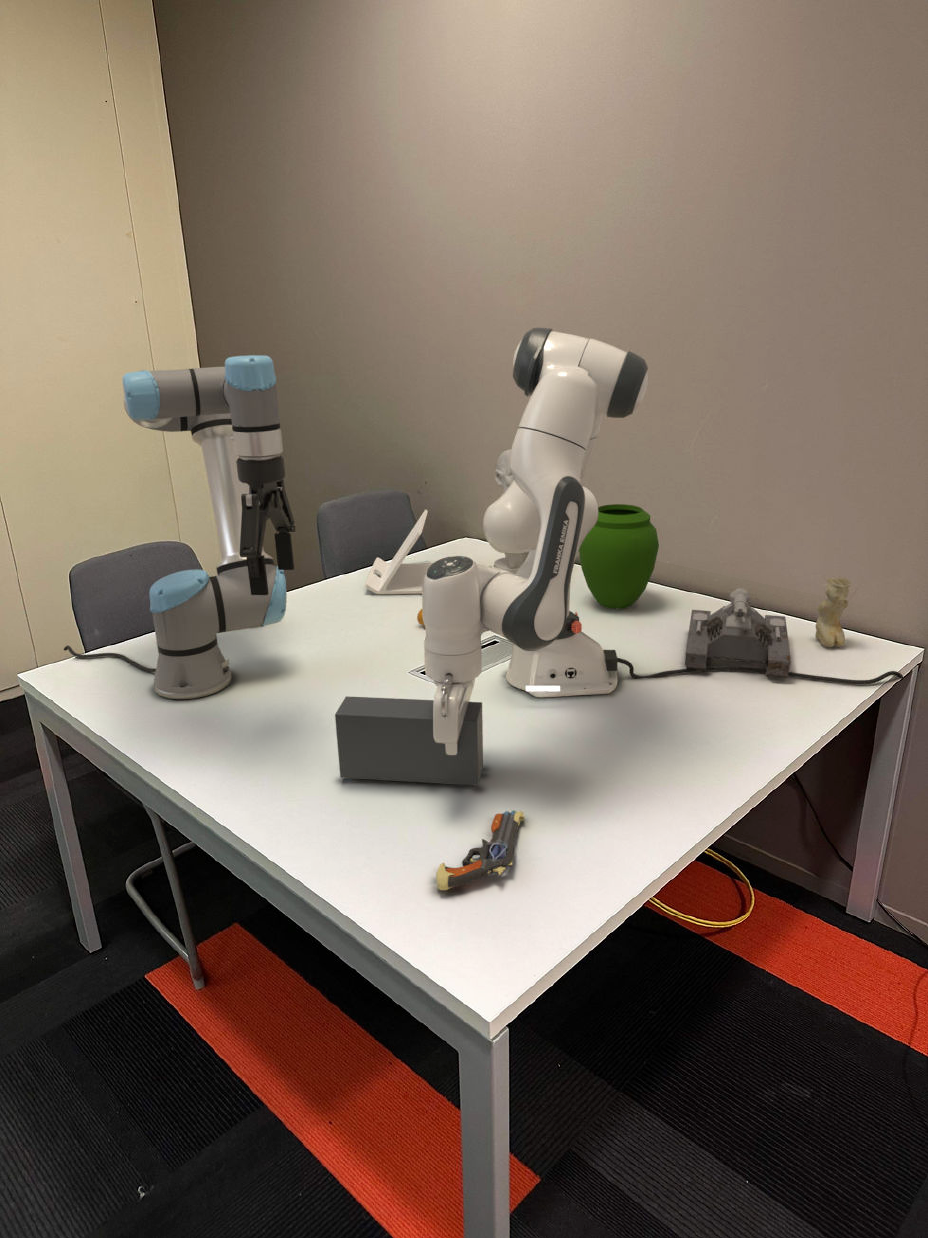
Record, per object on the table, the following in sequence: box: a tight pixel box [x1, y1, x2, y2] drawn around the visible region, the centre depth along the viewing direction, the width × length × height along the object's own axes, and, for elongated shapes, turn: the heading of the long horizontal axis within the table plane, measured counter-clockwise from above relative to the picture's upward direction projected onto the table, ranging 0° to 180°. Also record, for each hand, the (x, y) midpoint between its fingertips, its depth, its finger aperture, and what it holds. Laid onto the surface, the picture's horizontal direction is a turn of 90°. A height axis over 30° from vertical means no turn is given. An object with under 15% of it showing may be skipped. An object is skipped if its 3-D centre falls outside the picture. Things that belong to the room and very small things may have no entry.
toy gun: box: [435, 810, 525, 891], centre depth 120 cm, size 3×19×10 cm
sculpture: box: [814, 576, 852, 648], centre depth 185 cm, size 6×7×15 cm
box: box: [334, 695, 484, 786], centre depth 138 cm, size 23×6×12 cm, turn 82°
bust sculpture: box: [493, 449, 530, 574], centre depth 231 cm, size 16×24×35 cm
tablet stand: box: [363, 508, 434, 595], centre depth 235 cm, size 18×25×17 cm
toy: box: [684, 587, 792, 678], centre depth 180 cm, size 25×20×15 cm
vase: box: [578, 503, 660, 610], centre depth 210 cm, size 20×20×24 cm
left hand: (273, 581), depth 145 cm, fingers open, 13 cm apart
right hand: (455, 740), depth 137 cm, fingers closed on box, 6 cm apart
